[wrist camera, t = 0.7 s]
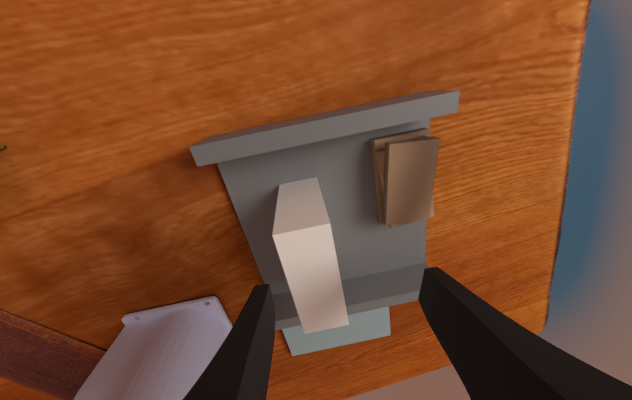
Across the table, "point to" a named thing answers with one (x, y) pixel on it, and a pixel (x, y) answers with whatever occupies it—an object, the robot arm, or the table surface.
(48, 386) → the wooden tablet
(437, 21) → the table surface
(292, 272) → the white rectangular block
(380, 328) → the mat
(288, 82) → the table surface
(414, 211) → the offcut stack
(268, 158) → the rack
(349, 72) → the table surface
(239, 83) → the table surface
